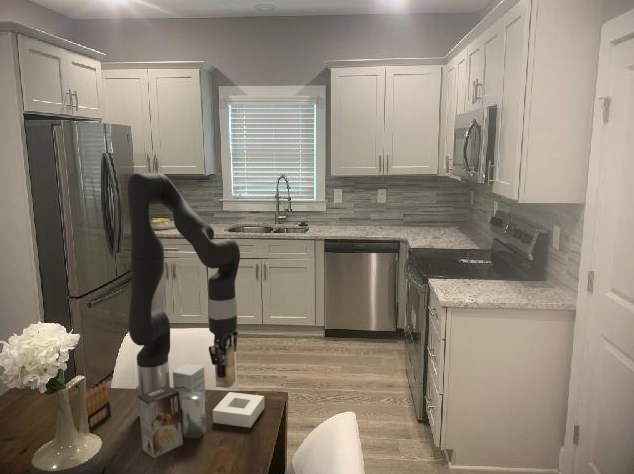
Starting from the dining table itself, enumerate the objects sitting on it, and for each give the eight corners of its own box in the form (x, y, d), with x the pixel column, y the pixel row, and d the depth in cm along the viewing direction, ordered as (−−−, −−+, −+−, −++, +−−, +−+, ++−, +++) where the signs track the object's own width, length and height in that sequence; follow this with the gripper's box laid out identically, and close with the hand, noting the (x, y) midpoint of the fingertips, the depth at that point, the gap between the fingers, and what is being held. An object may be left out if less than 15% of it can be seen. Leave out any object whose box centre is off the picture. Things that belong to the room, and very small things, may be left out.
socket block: (213, 422, 151) (212, 410, 151) (229, 403, 163) (229, 392, 162) (250, 427, 148) (250, 415, 148) (264, 407, 160) (264, 396, 159)
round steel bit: (179, 436, 144) (177, 401, 142) (190, 425, 150) (188, 390, 148) (199, 439, 142) (197, 403, 141) (209, 427, 149) (208, 393, 147)
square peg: (215, 386, 136) (214, 348, 134) (222, 380, 140) (220, 343, 138) (229, 388, 135) (228, 349, 133) (235, 381, 139) (234, 344, 137)
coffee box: (171, 436, 144) (168, 384, 142) (183, 444, 140) (180, 391, 137) (141, 449, 138) (137, 395, 135) (153, 459, 133) (149, 403, 131)
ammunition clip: (86, 434, 146) (83, 396, 144) (81, 433, 146) (77, 395, 144) (111, 416, 156) (108, 380, 154) (106, 415, 156) (103, 379, 154)
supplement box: (173, 408, 160) (171, 371, 158) (187, 398, 167) (185, 362, 165) (193, 413, 157) (190, 375, 155) (206, 402, 164) (204, 365, 162)
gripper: (221, 304, 142) (223, 361, 145) (197, 320, 128) (200, 383, 131) (246, 306, 140) (247, 364, 143) (224, 323, 126) (227, 386, 129)
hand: (225, 373), depth 137 cm, fingers closed on square peg, 4 cm apart
